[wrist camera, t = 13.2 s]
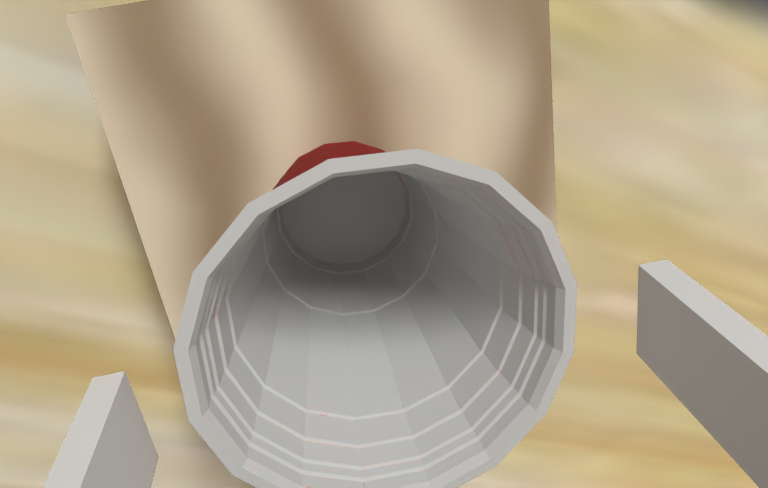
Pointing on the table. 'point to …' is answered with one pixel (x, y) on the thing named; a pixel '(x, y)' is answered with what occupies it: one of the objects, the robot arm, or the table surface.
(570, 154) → the table surface
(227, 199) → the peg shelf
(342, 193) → the plastic cup
